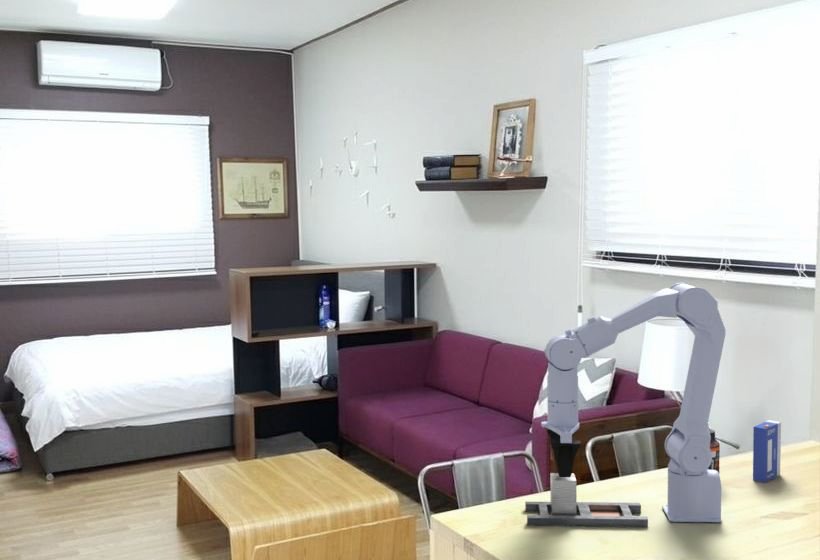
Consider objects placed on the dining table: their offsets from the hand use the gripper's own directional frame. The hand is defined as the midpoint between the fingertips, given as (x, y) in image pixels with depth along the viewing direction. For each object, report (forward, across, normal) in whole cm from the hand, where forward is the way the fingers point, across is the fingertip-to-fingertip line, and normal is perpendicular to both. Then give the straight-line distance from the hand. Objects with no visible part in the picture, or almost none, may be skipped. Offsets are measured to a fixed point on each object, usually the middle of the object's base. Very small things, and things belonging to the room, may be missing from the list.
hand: (563, 470), depth 165 cm
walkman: (+9, -26, +46) cm, 53 cm away
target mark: (+9, 0, +8) cm, 12 cm away
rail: (+9, 0, +4) cm, 10 cm away
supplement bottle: (+9, -22, +32) cm, 40 cm away
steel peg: (+9, 0, 0) cm, 9 cm away
